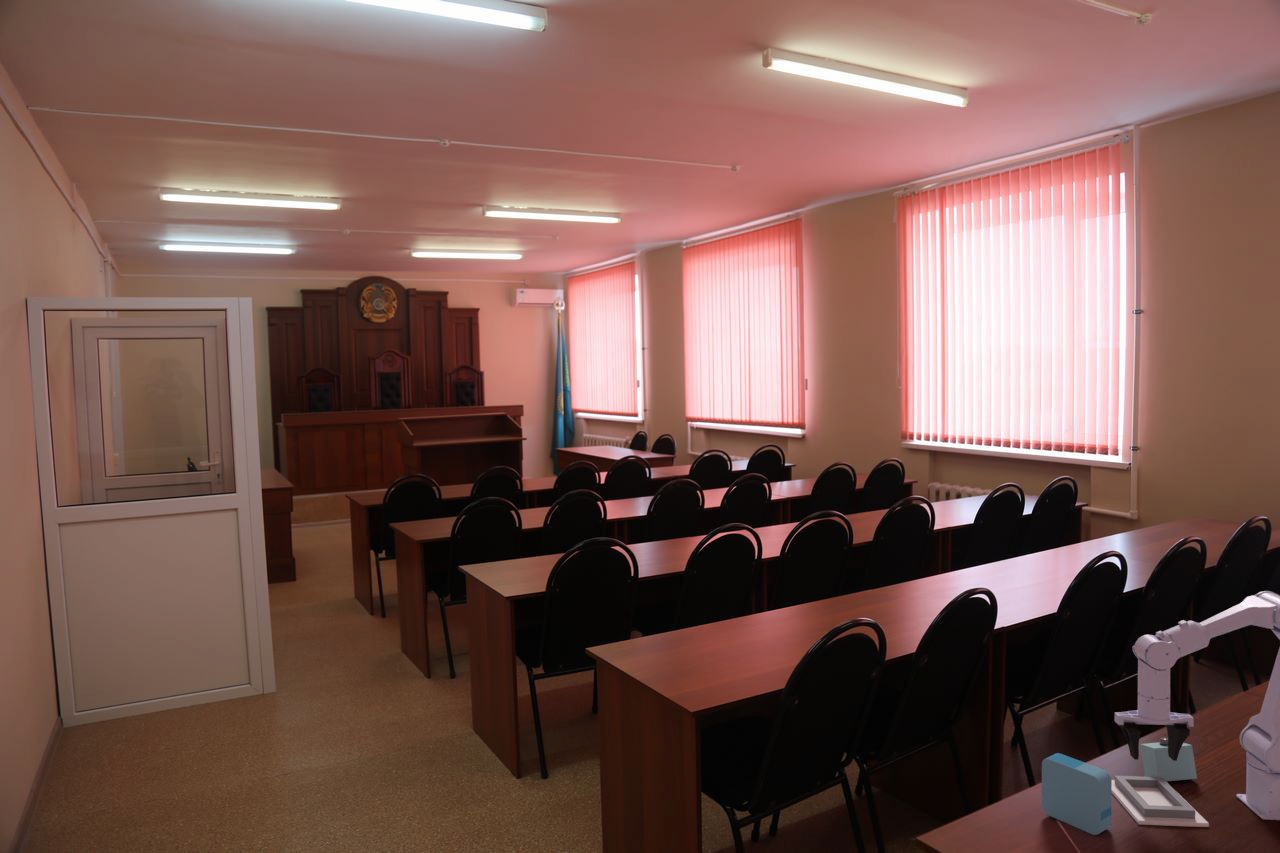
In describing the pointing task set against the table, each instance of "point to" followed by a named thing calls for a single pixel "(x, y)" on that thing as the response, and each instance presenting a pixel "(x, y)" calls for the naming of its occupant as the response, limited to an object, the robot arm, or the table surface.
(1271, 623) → the robot arm
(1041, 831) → the table surface
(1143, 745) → the key block
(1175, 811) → the socket plate
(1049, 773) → the data package
